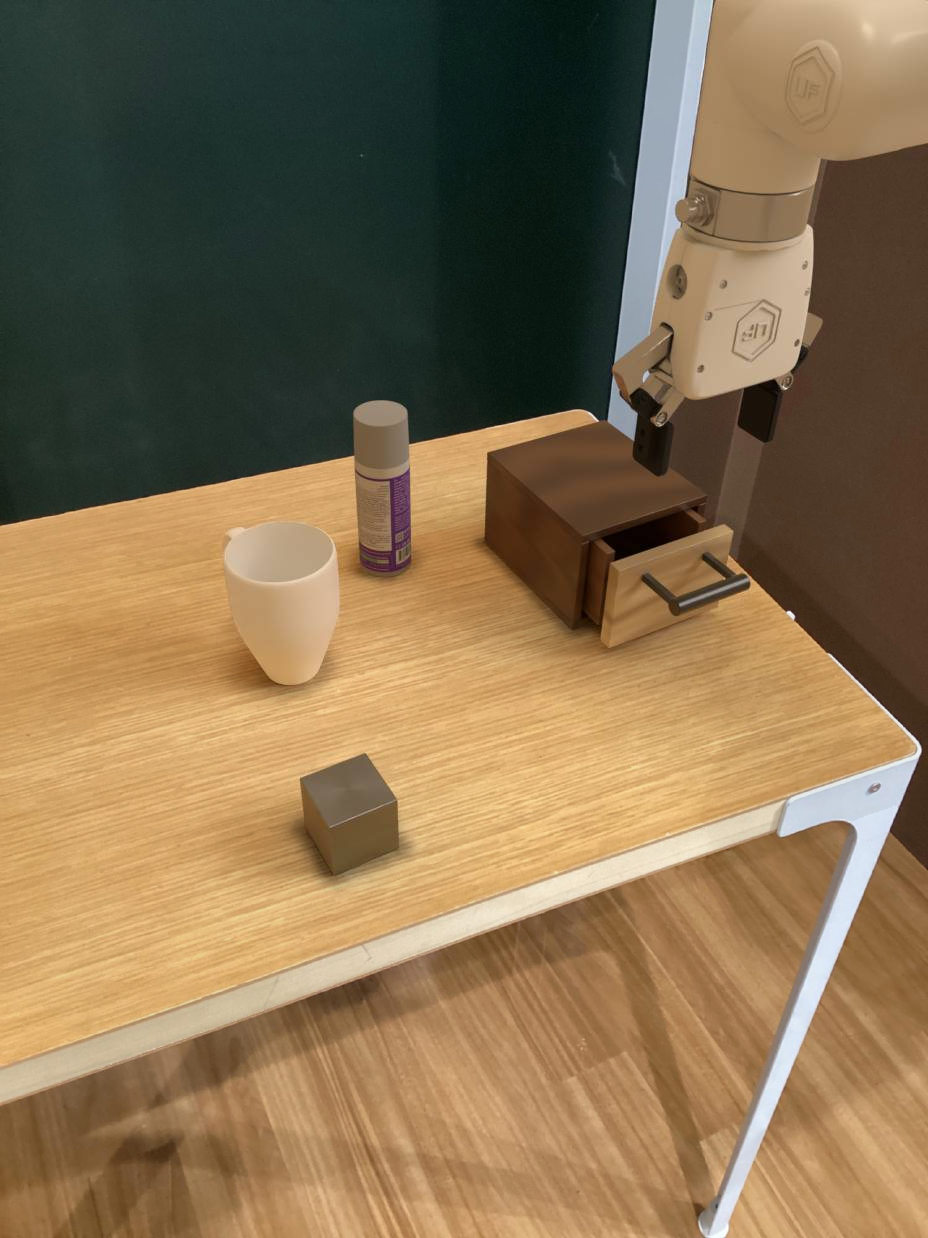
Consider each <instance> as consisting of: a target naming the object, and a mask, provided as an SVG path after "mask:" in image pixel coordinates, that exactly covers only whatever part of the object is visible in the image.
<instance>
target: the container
mask: <svg viewBox="0 0 928 1238" xmlns="http://www.w3.org/2000/svg"><path fill="white" fill-rule="evenodd" d="M352 417H353V456H354V457H353V459H354V460H353V461H354V481H355V500H356V501H355V502H356V519H357V536H358V554H359V565H360V567H361V569H362V570H363V571H364V572H366V573H367V574H369V575H372V576H374V577H379V578H389V577H390V578H391V577H395V576H399V575H402V574H403V573H405V572H406V571H407V570H409V568H410V567H411V565H412V512H411V511H412V507H411V503H412V502H411V460H410V459H411V457H410V438H409V436H410V435H409V415H408V409H407V408H406V407H405V406H403V404H401V403H399V402H395V401H391V400H384V399H383V400H382V399H381V400H378V399H377V400H370V401H367V402H366V401H365V402H364V403H361V404H360V405H358V406H357V407H355V408H354V410H353V414H352Z"/></svg>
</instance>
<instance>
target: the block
mask: <svg viewBox="0 0 928 1238" xmlns="http://www.w3.org/2000/svg"><path fill="white" fill-rule="evenodd" d="M299 785H300V792H301V793H300V795H301V804H302V812H303V820H304V827H305V828H306V830H307V832H308V834H309V835H310V837H311V839H312V841H313V842H314V844H315V845H316V847H317V849H318V851H319V853H320V854H321V856H322V858H323V860H324V861H325V863H326V865H327V867H328V868H329V870H330V872H331V874H332V875H333V876H336V875H340V874H341V873H344V872H347V871H348V870H350V869H353V868H356V867H358V866H360V865H363V864H364V863H367V862H369V861H372V860H374V859H376V858H378V857H381V856H383V855H385V854H388V853H391V852H392V851H395V850H397V849H399V848H400V836H399V834H400V833H399V831H400V830H399V802H398V798H397V797H396V796H395V794H394V792H393V791H392V790H391V788H390V786H389V785H388V784H387V782H386V780H385V779H384V778H383V776H382V775H381V773H380V772H379V771H378V769H377V767H376V766H375V764H374V763H373V762H372V760H371V758H370V757H369V756H368V754H367V753H366V752H363V753H361V754H358V755H355V756H353V757H350V758H348V759H346V760H343V761H340V762H337V763H334V764H333V765H330V766H327V767H325V768H322V769H320V770H316V771H315V772H312V773H309V774H307V775H304V776H301V777H300V778H299Z"/></svg>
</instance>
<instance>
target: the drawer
mask: <svg viewBox="0 0 928 1238" xmlns="http://www.w3.org/2000/svg"><path fill="white" fill-rule="evenodd" d="M706 524H707V520H706V518H704V516H703V517H701V516H700V515H699V514H697V513H696V512H695V511H693V510H692V509H691V508H689V509H686V510H683V511H680V512H677V513H674V514H671V515H668V516H665V517H662V518H659V519H656V520H653V521H649V522H646V523H643V524H640V525H637V526H634V527H631V528H628V529H625V530H622V531H619V532H616V533H613V534H610V535H607V536H604V537H601V538H598V539H595V540H592V541H589V548H588V557H587V566H586V575H585V584H584V594H583V603H582V610H583V611H584V612H585V613H586V614H587V615H588V616H589V617H590V618H591V619H592V620H593V621H594V622H593V623H595V625H597V626H601V632H600V638H599V640H600V642H601V643H602V644H603V645H604V646H605V647H607V649H611V648H613V647H616V646H619V645H621V644H624V643H627V642H630V641H632V640H635V639H637V638H640V637H643V636H645V635H648V634H650V633H653V632H657V631H658V630H660V629H661V630H662V629H663V628H666V627H669V626H671V625H674V624H676V623H680V622H682V621H684V620H688V619H689V618H692V617H695V616H697V615H698V616H699V615H701V614H703V613H706V612H708V611H710V610H713V609H716V608H718V607H719V602H720V601H723V600H725V599H728V598H730V597H732V596H735V595H738V594H740V593H743V592H746V591H749V590H750V588H751V580H750V577H749V576H748V574H746V573H744V572H740V573H738V574H737V573H736V572H734V571H733V570H732V569H731V568H730V567H728V566H727V565H728V560H729V555H730V550H731V547H732V540H733V537H734V529H733V530H732V528H730V527H729V526H728V525H726V524H725V523H723V524H720V525H717V526H714V527H711V528H708V529H706Z"/></svg>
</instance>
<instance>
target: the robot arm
mask: <svg viewBox="0 0 928 1238" xmlns="http://www.w3.org/2000/svg"><path fill="white" fill-rule="evenodd" d="M926 144H928V0H715V1H714V5H713V9H712V14H711V21H710V28H709V34H708V42H707V48H706V55H705V63H704V70H703V77H702V84H701V90H700V97H699V105H698V110H697V117H696V125H695V132H694V139H693V145H692V153H691V160H690V166H689V174H688V181H687V188H686V195H685V198H683V199H679V200H677V202H676V204H675V207H674V215H675V218H676V219H677V221H678V223H681V227H678V228H677V229H675V231H674V234H673V237H672V240H671V243H670V245H669V249H668V251H667V255H666V259H665V261H664V265H663V269H662V272H661V276H660V280H659V284H658V289H657V293H656V297H655V302H654V307H653V311H652V316H651V321H650V329H649V334H648V336H646V337H645V338H644V339H643V340H642V341H640V342H639V343H638V344H636V346H634V347H633V348H631V349H630V350H629V351H628V352H626V353H625V354H624V355H622V357H620V358H619V359H618V360H617V361H615V362H614V363H613V365H612V366H611V367H612V368H611V372H612V376H613V378H614V380H615V383H616V385H617V388H618V389H619V390H618V391H619V392H618V393H619V396H620V398H621V399H622V400H623V401H624V402H625V403H626V404H627V405H628V406H629V407H630V409H631V410H632V411H634V412H635V413H636V422H635V429H634V436H633V441H634V444H633V452H632V455H633V458H634V460H635V461H637V462H638V463H639V464H641V465H642V466H643V467H645V468H646V469H647V470H649V471H650V472H652V473H653V474H654V475H656V476H657V477H659V476H662V475H665V474H666V472H667V471H668V466H669V465H670V458H671V451H672V446H673V439H674V432H675V425H674V423H672V422H671V421H669V420H670V419H671V417H672V416H673V414H674V413H675V412H676V410H677V409H678V408H679V406H680V405H681V404H682V403H683V401H684V400H685V398H687V399H689V400H693V401H699V400H700V401H701V400H705V399H709V398H714V397H717V396H721V395H725V394H727V393H731V392H735V391H738V390H741V389H743V392H742V397H741V402H740V408H739V412H738V416H737V423H736V425H737V427H738V428H739V429H741V430H743V431H744V432H746V433H747V434H749V435H751V436H752V437H753V438H755V439H757V440H758V441H760V442H762V443H764V444H767V443H769V442H772V441H773V440H774V438H775V432H776V428H777V424H778V419H779V415H780V411H781V406H782V401H783V397H784V392H783V391H787V390H789V388H791V386H792V384H793V383H794V373H795V372H796V371H797V370H798V368H799V367H800V366H801V365H802V364H803V363H804V362H805V360H806V359H807V357H808V354H809V348H808V347H811V346H812V344H813V342H814V341H815V339H816V337H817V335H818V333H819V332H820V330H821V329H822V326H823V323H824V321H823V318H821V317H819V316H818V315H815V314H814V313H811V312H809V311H808V310H809V304H810V298H811V290H812V289H811V288H812V282H813V269H814V247H815V246H814V245H815V244H814V229H813V227H812V225H810V224H808V220H809V216H810V211H811V205H812V202H813V196H814V192H815V187H816V181H817V179H818V173H819V169H820V166H821V165H820V164H821V160H827V161H835V162H839V161H840V162H841V161H842V162H843V161H844V162H845V161H854V160H860V159H864V158H870V157H873V156H878V155H882V154H887V153H892V152H896V151H899V150H902V149H907V148H911V147H916V146H920V145H926ZM647 372H648V373H649V374H648V375H647V377H646V378H645V380H644V381H643V379H644V378H643V377H644V375H645V374H646V373H647ZM664 385H666V386H667V387H669V388H668V390H667V391H666V393H664V395H663V397H662V398H661V400H660V401H659V402H658V401H657V400H656V399H655V397H656V396H657V394H658V393H659V391H660V390H661V389H662V388H663V387H664Z"/></svg>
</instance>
